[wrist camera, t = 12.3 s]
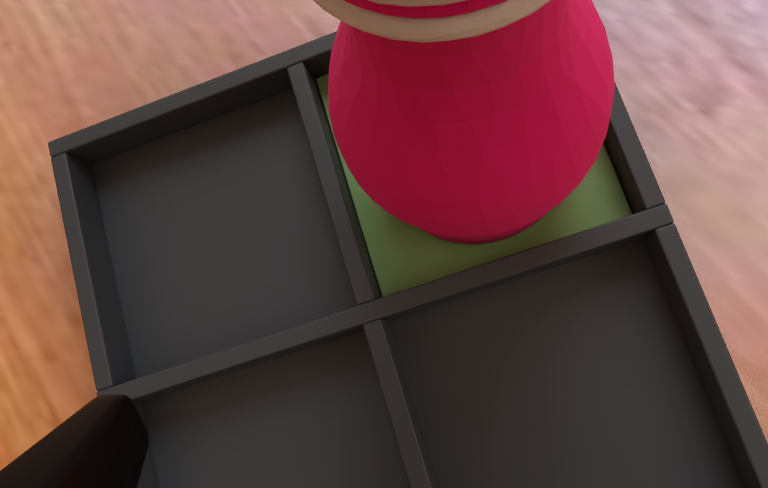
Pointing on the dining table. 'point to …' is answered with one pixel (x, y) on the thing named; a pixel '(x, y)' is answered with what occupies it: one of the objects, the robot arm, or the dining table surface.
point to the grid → (385, 312)
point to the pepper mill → (469, 108)
